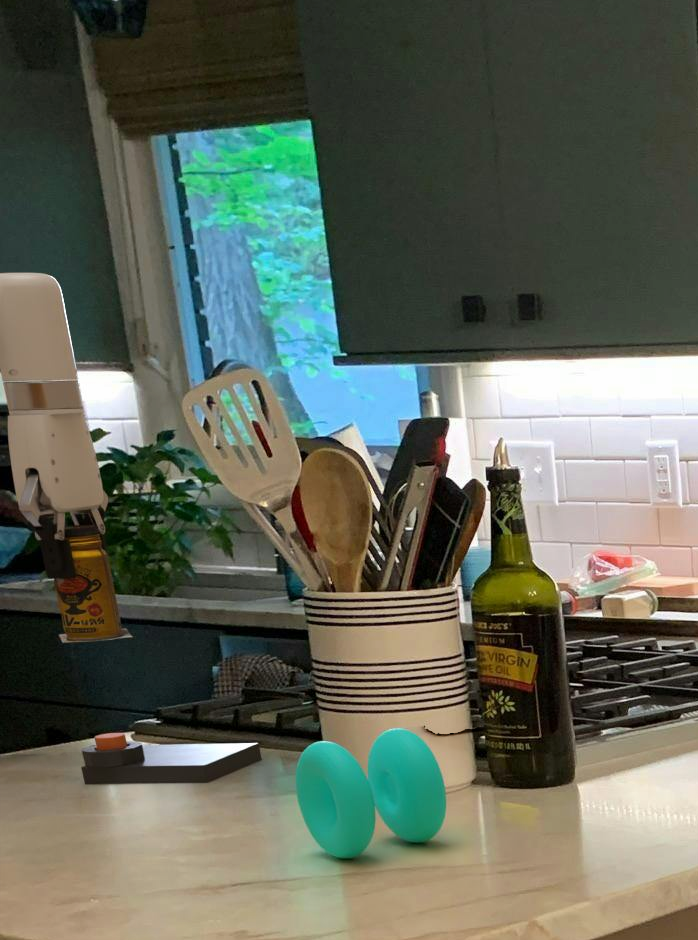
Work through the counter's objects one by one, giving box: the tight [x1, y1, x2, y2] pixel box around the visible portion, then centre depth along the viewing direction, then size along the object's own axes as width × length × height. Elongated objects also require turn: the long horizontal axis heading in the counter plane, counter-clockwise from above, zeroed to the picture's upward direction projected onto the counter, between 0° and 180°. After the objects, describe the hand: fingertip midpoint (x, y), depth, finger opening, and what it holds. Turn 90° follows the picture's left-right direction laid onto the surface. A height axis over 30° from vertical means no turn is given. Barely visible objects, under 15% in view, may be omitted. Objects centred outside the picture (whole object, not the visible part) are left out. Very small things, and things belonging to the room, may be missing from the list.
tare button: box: [94, 732, 127, 750], centre depth 204 cm, size 3×3×2 cm
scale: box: [80, 740, 262, 785], centre depth 207 cm, size 14×12×4 cm
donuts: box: [295, 727, 447, 859], centre depth 168 cm, size 10×10×10 cm
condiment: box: [53, 524, 133, 644], centre depth 216 cm, size 7×8×12 cm
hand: (79, 573), depth 215 cm, fingers closed on condiment, 6 cm apart
